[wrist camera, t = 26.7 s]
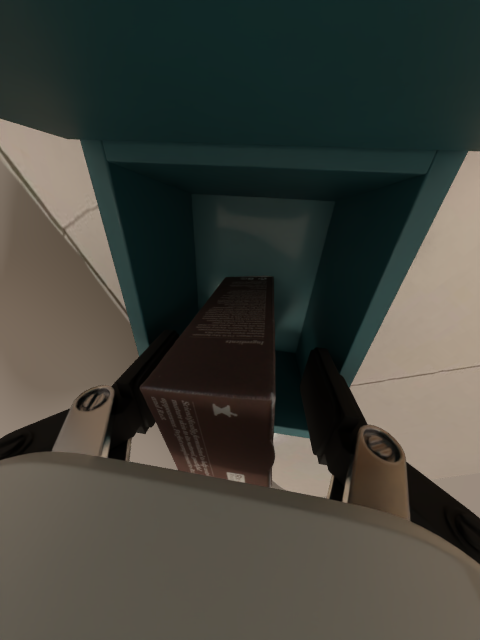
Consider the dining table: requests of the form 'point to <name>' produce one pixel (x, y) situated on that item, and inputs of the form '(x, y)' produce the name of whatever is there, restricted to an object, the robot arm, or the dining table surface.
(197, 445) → the box
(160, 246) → the chest
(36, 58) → the lid
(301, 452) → the dining table surface
